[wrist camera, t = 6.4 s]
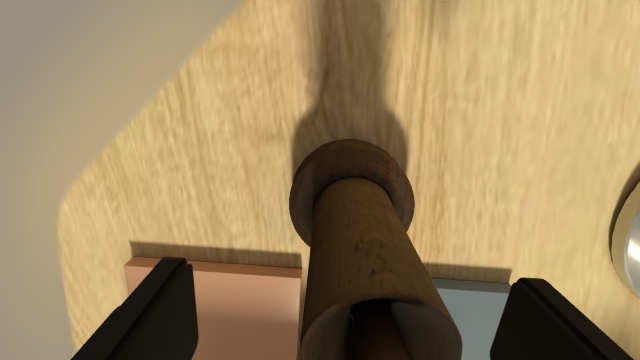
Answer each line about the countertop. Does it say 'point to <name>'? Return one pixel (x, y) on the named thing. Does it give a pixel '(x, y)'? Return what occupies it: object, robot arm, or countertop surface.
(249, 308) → the tile terracotta
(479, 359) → the mat bluegrey
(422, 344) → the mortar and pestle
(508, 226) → the countertop surface
